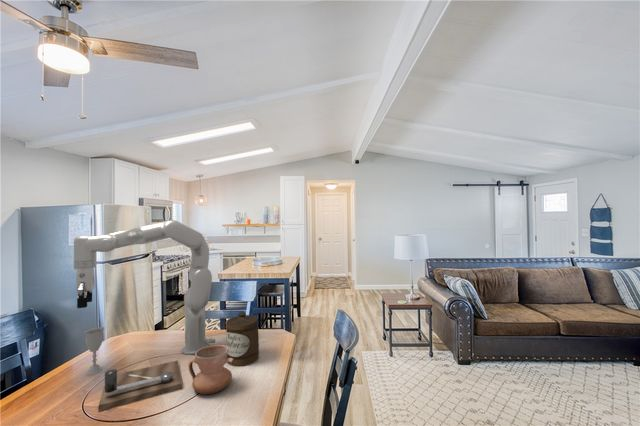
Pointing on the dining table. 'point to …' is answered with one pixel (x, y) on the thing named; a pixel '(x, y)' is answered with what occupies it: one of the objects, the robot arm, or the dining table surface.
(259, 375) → the dining table surface
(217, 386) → the ceramic jug
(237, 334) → the wooden container
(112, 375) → the lever
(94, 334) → the chalice
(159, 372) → the lever board
